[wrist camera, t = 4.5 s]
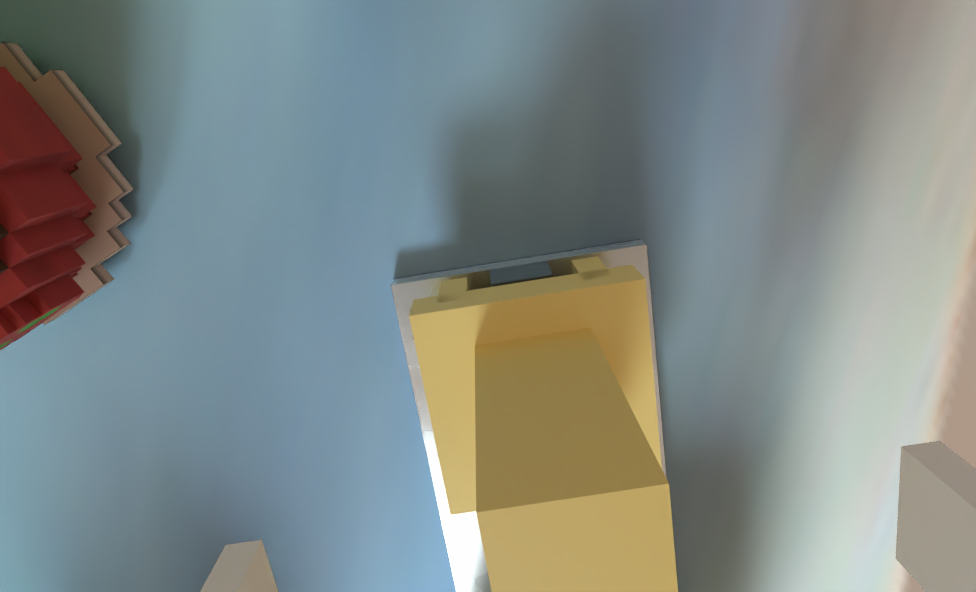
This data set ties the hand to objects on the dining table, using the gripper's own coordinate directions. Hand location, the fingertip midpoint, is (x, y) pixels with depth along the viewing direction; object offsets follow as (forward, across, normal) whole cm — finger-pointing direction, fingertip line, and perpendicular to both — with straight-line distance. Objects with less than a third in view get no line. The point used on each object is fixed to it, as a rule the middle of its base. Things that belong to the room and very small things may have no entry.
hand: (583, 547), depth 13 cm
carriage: (+10, 0, 0) cm, 10 cm away
